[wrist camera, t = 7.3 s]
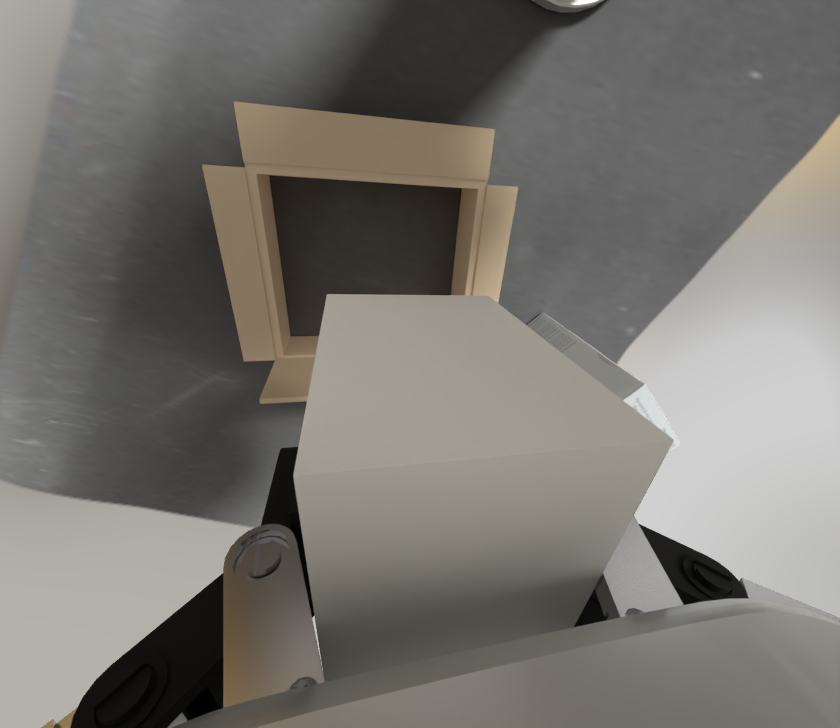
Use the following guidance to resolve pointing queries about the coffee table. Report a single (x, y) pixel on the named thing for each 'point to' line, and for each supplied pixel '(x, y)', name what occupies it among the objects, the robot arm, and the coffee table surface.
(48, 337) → the coffee table surface
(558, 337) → the skincare box
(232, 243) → the carton
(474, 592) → the box
